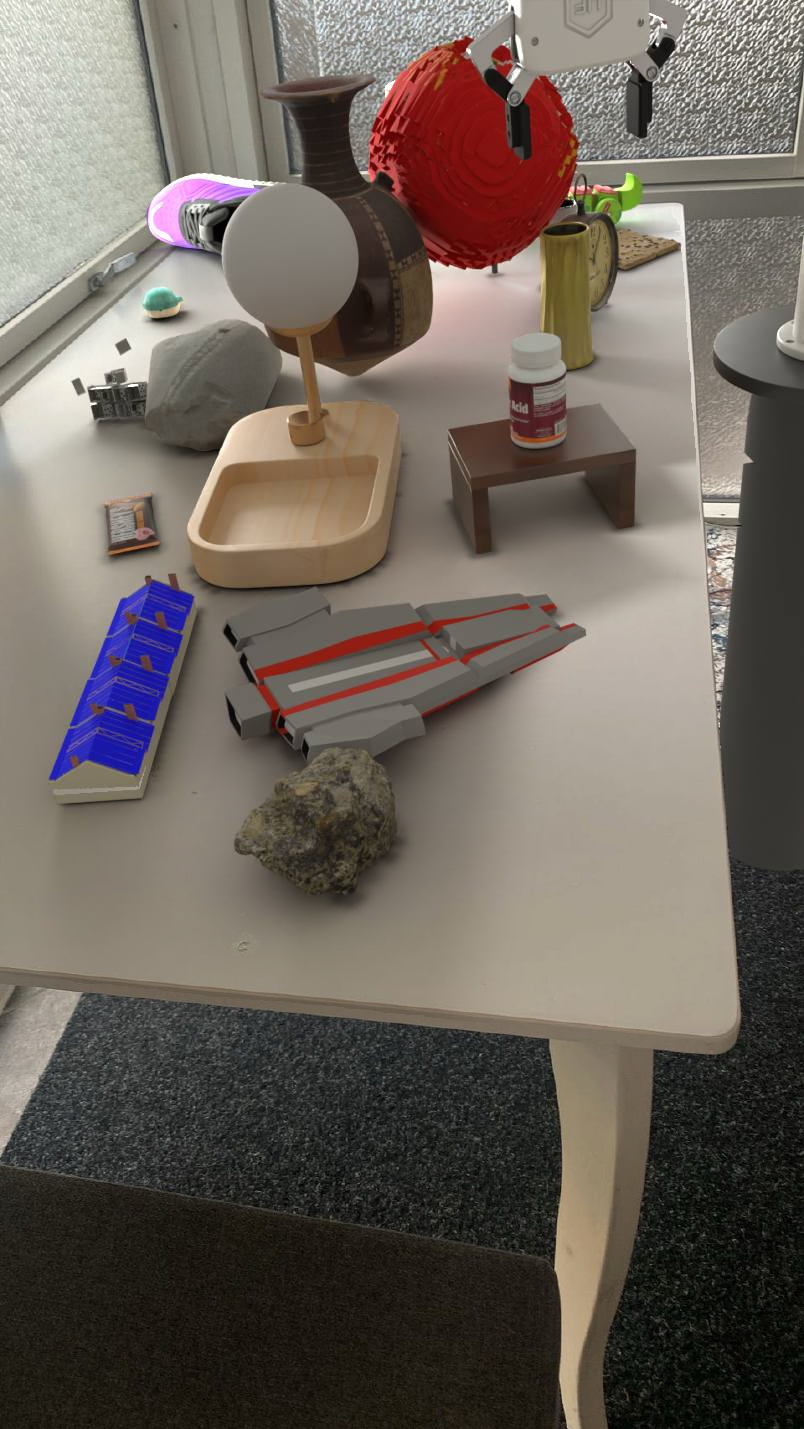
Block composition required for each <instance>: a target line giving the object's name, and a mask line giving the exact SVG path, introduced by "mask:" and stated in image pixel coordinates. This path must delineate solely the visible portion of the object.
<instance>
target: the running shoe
mask: <svg viewBox="0 0 804 1429" xmlns="http://www.w3.org/2000/svg"><path fill="white" fill-rule="evenodd" d="M276 184H286V182H279V181H275V182H273V181H265V180H262V181H259V180H254V181H253V180H251V179H245V178H237V177H231V176H229V175H228V176H223V175H222V174H214V173H207V172H203V173H199V172H198V173H195V174H190V175H185V176H184V177H180V178H178V179H176V180H173V181H172V182H171V183H170V184H168V185H167V186H165V187H164V188H163V189H162V190H161V191H160V192H158V193H157V194H156V195H155V196H154V197H153V199H151V201H150V203H149V205H148V207H147V210H146V214H145V217H146V223H147V226H148V229H149V231H150V232H151V233H152V235H153V236H154V237H156V239H158V240H159V241H162V242H164V243H167V244H169V245H172V246H177V247H181V248H187V249H196V250H197V249H199V250H204V251H207V252H210V253H211V252H212V253H215V254H218V255H220V256H222V244H223V238H224V234H225V230H226V228H227V225H228V223H229V221H230V219H231V217H232V215H233V214H234V212H235V211H236V209H237V208H238V207H239V206H240V204H241V203H242V202H243V201H244V200H246V199H247V198H248V197H249V196H251V195H252V194H253V193H255V192H257V191H259V190H261V189H263V188H265V187H268V186H272V185H276Z"/></svg>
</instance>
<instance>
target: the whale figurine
mask: <svg viewBox="0 0 804 1429" xmlns="http://www.w3.org/2000/svg"><path fill="white" fill-rule="evenodd" d="M143 299H144V300H143V301H142V303H141V307H142V308H143V309H144V310H145V314H146V315H147V316H148V317H150V318H152V319H162V318H163V319H164V318H169V317H173V316H175V315H178V313H179V312H180V308H181V306H182V305H183V304H184V302H185V299H184V298H183V297H182V296H181V295H176V294H175V293H174V291H173V290H171V289H169V288H168V287H166V286H165V287H164V286H156V287H153V288H151V289H150V290H148V291H147V293H146V294H145V296H144V298H143Z"/></svg>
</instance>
